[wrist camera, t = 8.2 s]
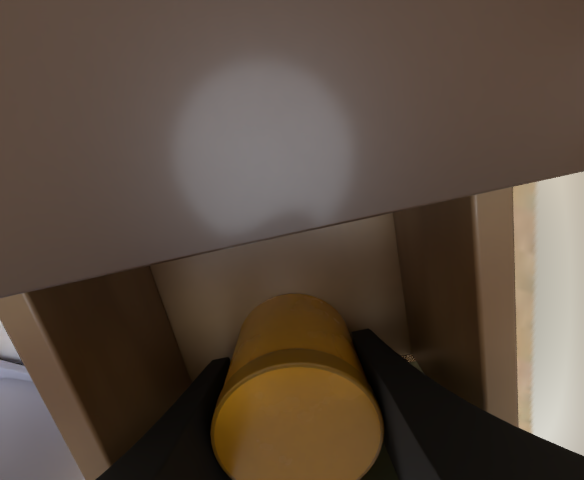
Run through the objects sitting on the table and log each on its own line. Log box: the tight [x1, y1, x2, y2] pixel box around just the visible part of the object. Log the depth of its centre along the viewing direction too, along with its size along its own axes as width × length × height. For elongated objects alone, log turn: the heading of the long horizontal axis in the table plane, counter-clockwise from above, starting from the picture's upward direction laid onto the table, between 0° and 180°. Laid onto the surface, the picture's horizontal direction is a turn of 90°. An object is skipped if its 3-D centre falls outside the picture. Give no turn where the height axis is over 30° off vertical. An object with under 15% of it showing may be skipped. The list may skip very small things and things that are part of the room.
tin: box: [210, 294, 384, 480], centre depth 9 cm, size 4×4×4 cm
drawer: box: [0, 187, 518, 480], centre depth 9 cm, size 17×12×6 cm
